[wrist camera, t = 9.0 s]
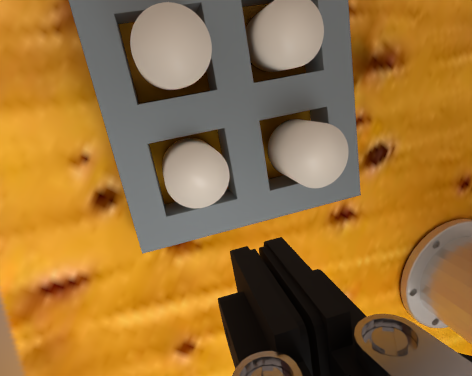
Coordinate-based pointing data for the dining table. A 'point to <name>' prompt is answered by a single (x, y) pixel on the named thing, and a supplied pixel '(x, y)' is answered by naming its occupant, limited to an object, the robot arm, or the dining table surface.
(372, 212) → the dining table surface
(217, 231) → the board
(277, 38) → the button
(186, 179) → the button
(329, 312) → the robot arm
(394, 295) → the dining table surface
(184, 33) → the button
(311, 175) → the button
